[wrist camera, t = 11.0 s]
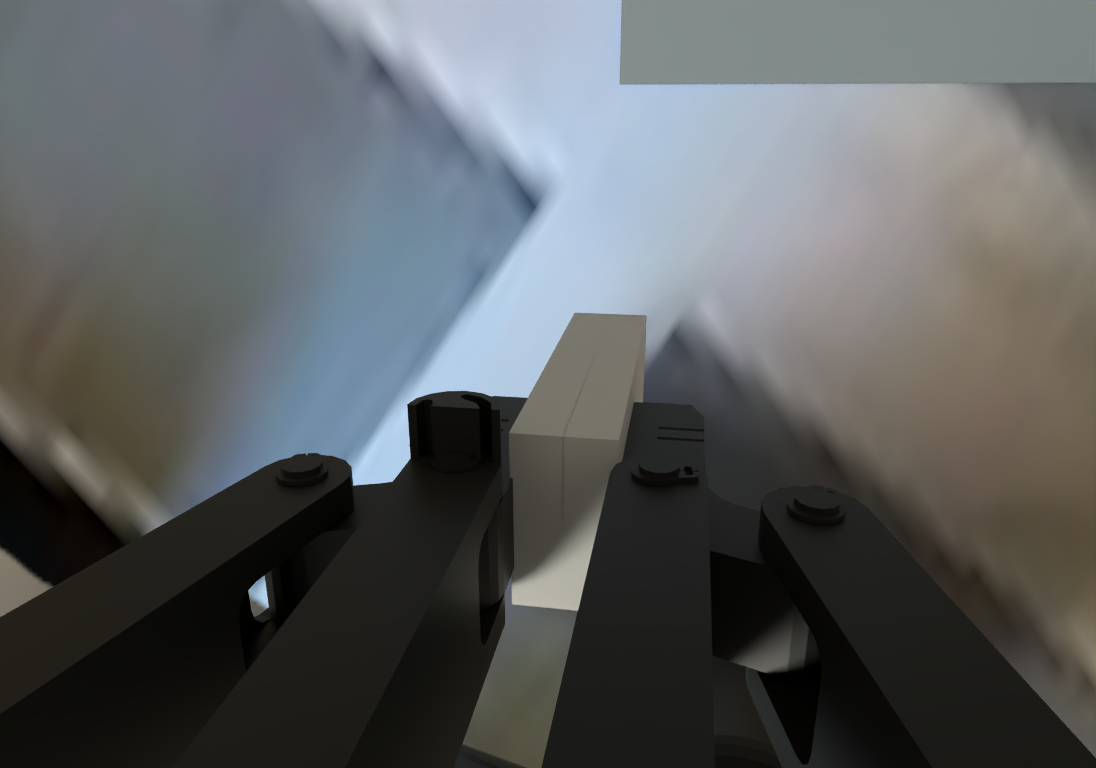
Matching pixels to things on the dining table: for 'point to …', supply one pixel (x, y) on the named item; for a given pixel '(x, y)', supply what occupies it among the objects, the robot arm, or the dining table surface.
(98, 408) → the dining table surface
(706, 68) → the card
